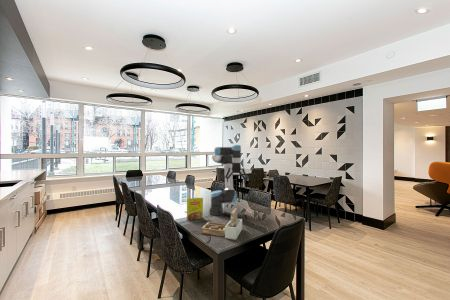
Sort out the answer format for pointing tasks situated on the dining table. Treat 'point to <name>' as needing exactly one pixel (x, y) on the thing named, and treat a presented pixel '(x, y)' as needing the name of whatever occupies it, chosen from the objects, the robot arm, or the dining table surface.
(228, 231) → the tote
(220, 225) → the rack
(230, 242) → the dining table surface
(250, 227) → the dining table surface
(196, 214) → the food package
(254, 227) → the dining table surface
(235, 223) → the board
